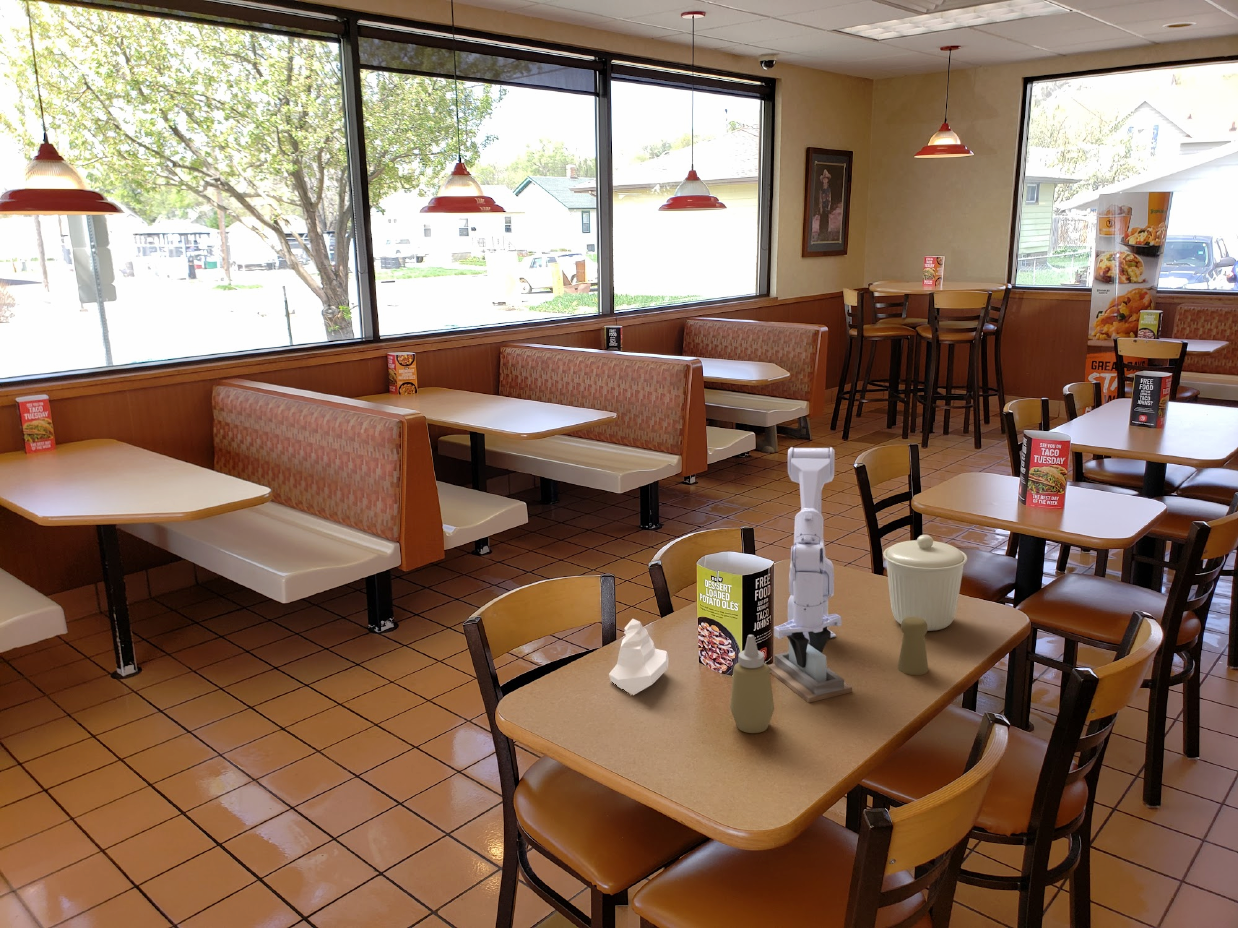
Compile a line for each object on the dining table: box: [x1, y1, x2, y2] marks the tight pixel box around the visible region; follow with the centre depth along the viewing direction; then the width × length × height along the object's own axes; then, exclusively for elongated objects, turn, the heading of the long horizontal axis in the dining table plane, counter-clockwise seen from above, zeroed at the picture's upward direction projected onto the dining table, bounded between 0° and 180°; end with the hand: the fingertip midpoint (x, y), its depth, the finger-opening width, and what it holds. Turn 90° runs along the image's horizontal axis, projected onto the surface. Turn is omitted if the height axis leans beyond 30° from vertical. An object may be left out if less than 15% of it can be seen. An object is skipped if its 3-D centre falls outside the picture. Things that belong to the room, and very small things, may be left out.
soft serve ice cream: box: [608, 618, 670, 696], centre depth 188 cm, size 12×15×14 cm
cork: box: [897, 616, 929, 676], centre depth 188 cm, size 6×6×11 cm
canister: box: [882, 534, 968, 632], centre depth 209 cm, size 18×18×21 cm
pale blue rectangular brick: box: [788, 640, 827, 683], centre depth 185 cm, size 10×2×6 cm, turn 21°
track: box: [767, 651, 853, 703], centre depth 186 cm, size 16×10×3 cm, turn 21°
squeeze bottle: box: [729, 634, 775, 734], centre depth 167 cm, size 8×8×18 cm
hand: (808, 663), depth 185 cm, fingers open, 3 cm apart
